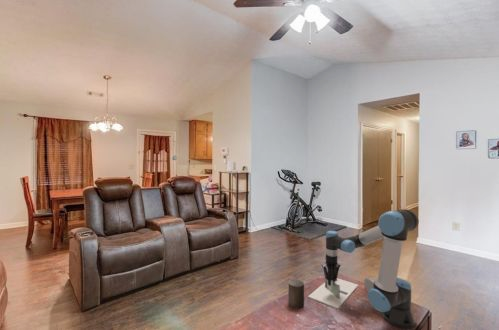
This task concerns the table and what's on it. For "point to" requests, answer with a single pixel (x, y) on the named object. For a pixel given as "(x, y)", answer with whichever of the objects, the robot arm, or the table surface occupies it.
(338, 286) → the fence gate
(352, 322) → the table surface
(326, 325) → the table surface
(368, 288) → the game controller
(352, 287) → the board
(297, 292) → the pillar candle
